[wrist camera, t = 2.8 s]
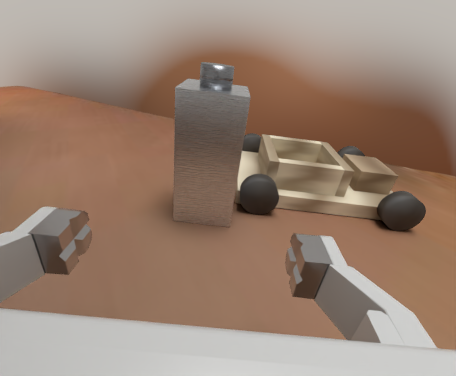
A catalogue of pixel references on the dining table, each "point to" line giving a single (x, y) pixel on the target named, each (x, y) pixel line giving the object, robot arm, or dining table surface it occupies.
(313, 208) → the chassis
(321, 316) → the dining table surface
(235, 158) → the silver tall block
